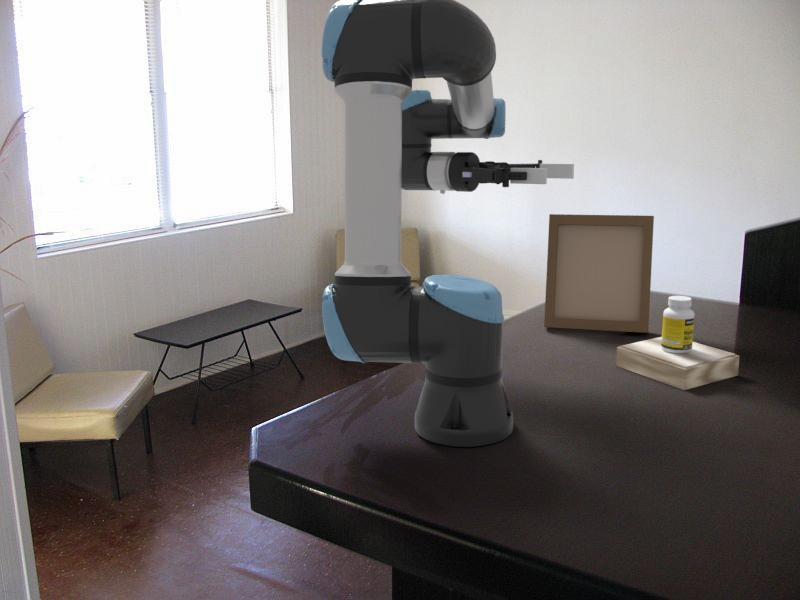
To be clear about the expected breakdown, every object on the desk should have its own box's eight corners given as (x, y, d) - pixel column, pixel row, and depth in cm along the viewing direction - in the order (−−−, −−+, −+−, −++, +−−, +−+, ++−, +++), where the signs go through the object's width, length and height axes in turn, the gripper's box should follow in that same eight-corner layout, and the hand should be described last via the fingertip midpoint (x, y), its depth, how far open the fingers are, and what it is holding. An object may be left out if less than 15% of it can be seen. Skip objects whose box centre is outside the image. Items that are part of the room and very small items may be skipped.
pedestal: (684, 390, 137) (685, 368, 136) (616, 365, 150) (617, 345, 149) (737, 375, 144) (739, 354, 143) (668, 353, 157) (669, 333, 156)
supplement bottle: (686, 356, 142) (689, 302, 140) (656, 351, 146) (659, 299, 143) (696, 348, 146) (699, 296, 144) (667, 344, 150) (669, 293, 147)
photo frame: (648, 337, 168) (654, 219, 162) (544, 331, 174) (546, 217, 169) (648, 320, 182) (653, 210, 176) (551, 315, 188) (554, 209, 182)
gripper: (483, 186, 165) (582, 189, 155) (423, 197, 145) (532, 201, 134) (483, 149, 164) (583, 149, 153) (423, 155, 143) (533, 155, 132)
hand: (560, 173), depth 143 cm, fingers open, 13 cm apart
